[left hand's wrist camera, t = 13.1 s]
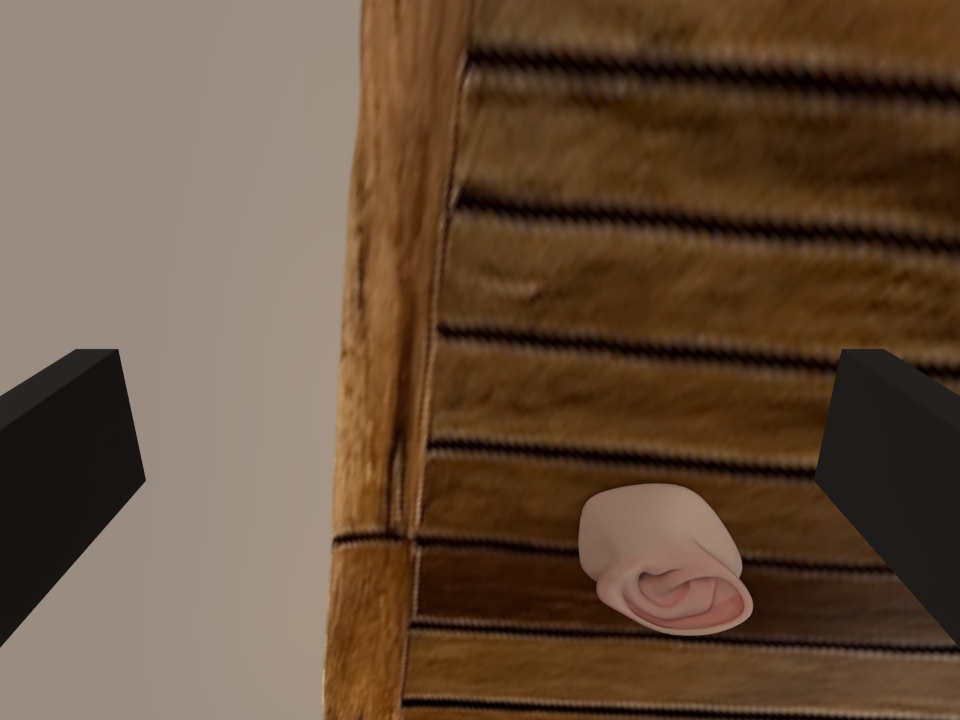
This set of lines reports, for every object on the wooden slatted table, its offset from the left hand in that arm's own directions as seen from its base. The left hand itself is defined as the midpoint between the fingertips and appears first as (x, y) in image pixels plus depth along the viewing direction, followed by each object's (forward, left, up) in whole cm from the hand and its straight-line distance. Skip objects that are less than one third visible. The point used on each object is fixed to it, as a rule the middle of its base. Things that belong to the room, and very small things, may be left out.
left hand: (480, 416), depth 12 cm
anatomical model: (-14, +27, -32) cm, 44 cm away
